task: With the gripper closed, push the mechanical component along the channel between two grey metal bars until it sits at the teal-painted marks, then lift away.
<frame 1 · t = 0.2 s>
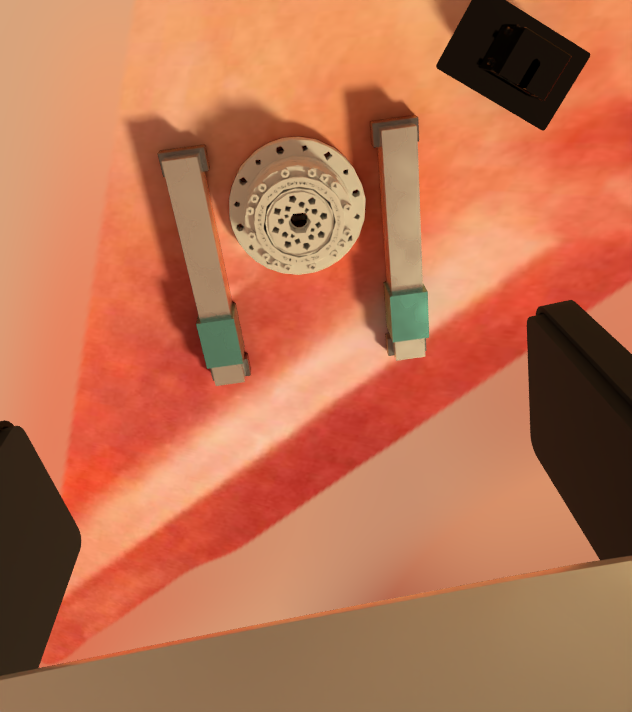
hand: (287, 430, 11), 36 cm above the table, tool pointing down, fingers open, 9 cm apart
bar rails: (304, 257, 47), on the table
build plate: (509, 60, 42), on the table
mechanical component: (296, 204, 46), on the table
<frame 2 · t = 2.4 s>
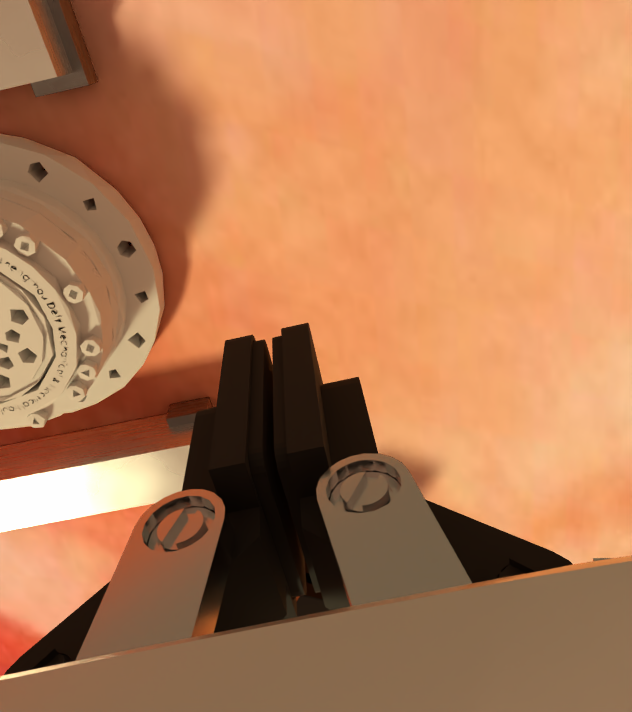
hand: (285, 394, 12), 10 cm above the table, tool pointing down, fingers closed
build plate: (312, 543, 29), on the table
mechanical component: (26, 275, 22), on the table
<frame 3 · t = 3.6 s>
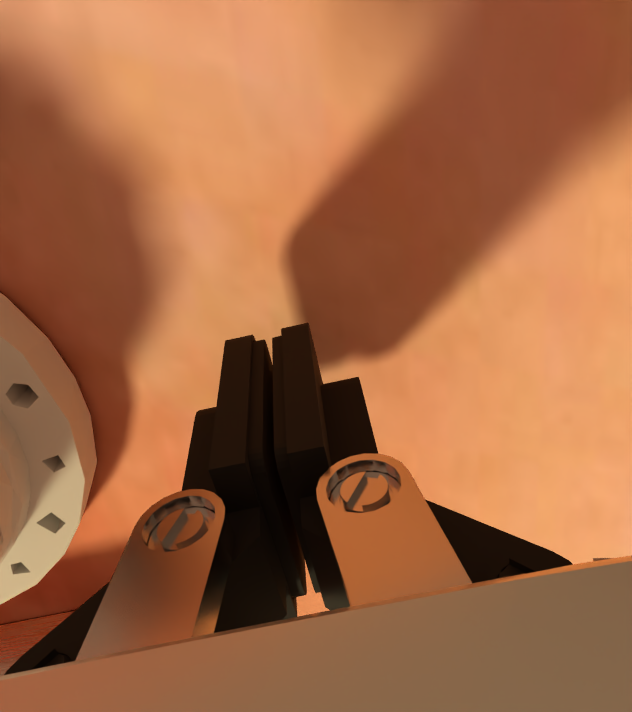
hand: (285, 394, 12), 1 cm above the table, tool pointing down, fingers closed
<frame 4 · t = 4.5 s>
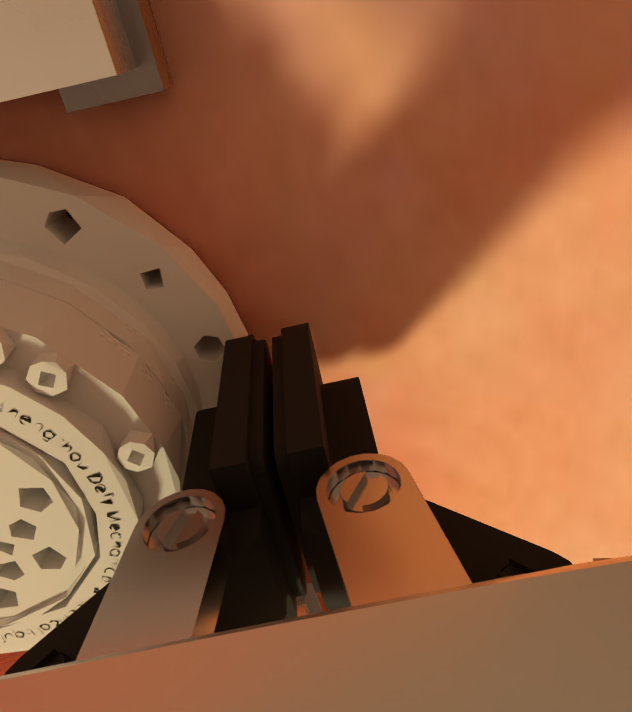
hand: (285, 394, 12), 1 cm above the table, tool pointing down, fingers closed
mechanical component: (37, 379, 14), on the table, touching gripper
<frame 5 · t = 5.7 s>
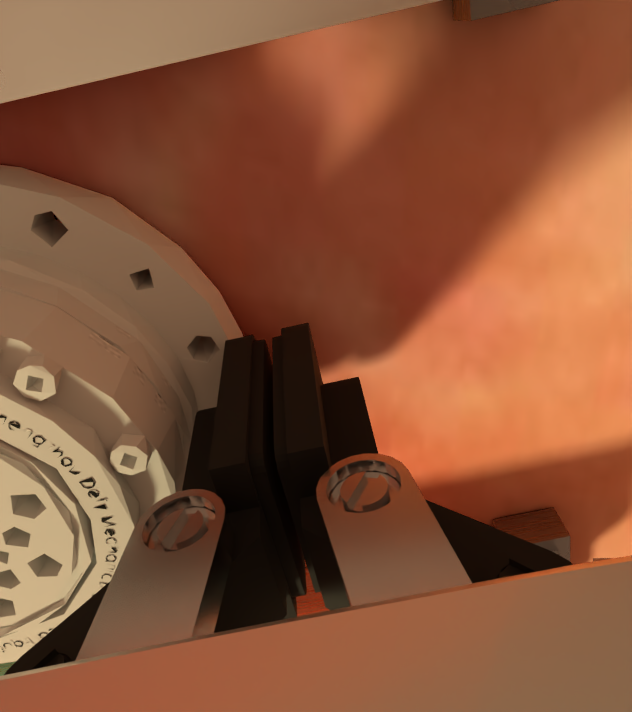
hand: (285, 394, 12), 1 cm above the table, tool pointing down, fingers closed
bar rails: (132, 398, 13), on the table
mechanical component: (32, 385, 14), on the table, touching gripper
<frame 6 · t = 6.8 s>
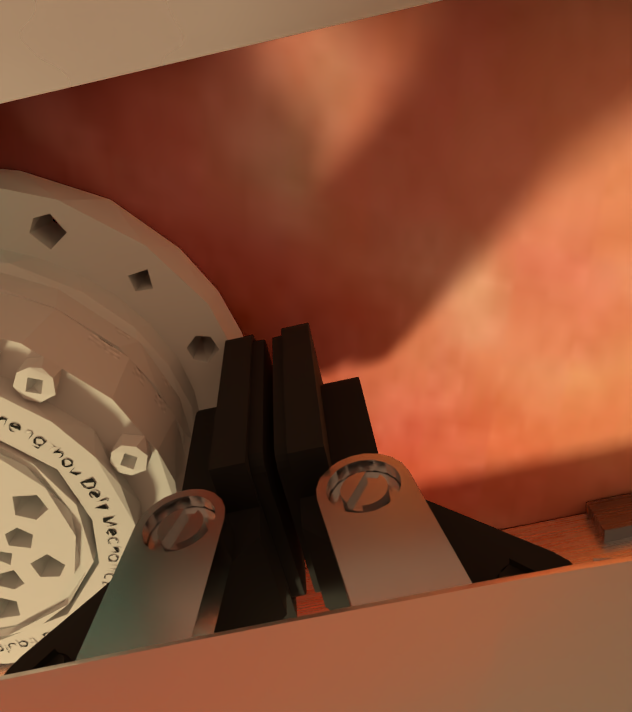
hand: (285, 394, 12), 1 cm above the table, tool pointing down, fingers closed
bar rails: (239, 376, 13), on the table
mechanical component: (34, 387, 14), on the table
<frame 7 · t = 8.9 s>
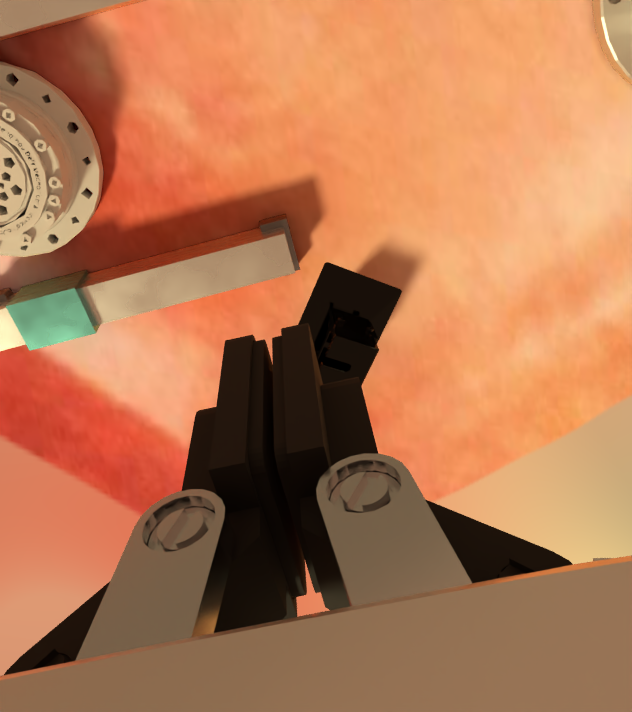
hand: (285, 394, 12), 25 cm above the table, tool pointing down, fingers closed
bar rails: (93, 155, 33), on the table
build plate: (335, 333, 41), on the table
mechanical component: (11, 160, 33), on the table
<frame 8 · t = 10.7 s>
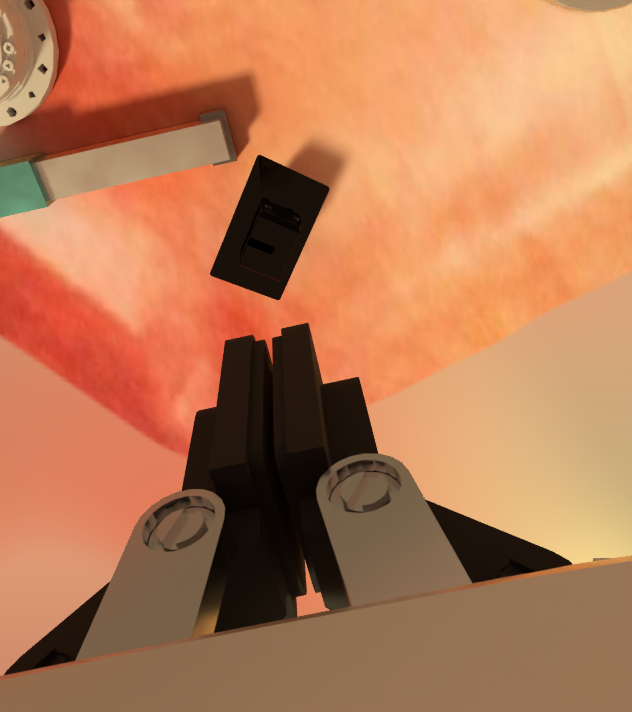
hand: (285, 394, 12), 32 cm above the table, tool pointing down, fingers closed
bar rails: (49, 40, 37), on the table
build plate: (269, 228, 44), on the table
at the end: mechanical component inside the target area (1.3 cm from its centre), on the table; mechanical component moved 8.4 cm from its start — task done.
